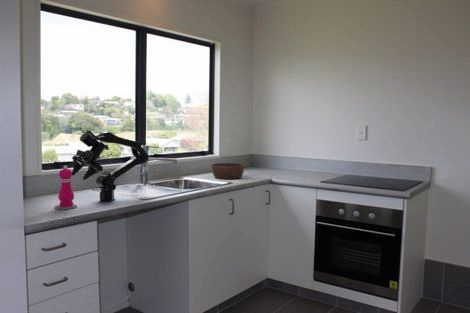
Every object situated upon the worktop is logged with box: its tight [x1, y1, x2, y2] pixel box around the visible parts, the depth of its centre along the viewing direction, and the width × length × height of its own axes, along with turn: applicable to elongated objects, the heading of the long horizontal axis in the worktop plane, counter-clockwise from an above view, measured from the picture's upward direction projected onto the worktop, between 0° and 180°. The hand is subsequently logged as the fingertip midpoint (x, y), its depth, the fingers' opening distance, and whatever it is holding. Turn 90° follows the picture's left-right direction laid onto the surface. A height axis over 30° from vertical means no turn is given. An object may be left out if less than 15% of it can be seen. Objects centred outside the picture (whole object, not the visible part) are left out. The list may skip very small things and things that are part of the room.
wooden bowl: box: [211, 162, 245, 180], centre depth 315 cm, size 25×25×10 cm
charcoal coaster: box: [54, 203, 78, 211], centre depth 202 cm, size 10×10×1 cm
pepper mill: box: [57, 165, 75, 207], centre depth 201 cm, size 7×7×20 cm
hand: (77, 177), depth 208 cm, fingers open, 9 cm apart
